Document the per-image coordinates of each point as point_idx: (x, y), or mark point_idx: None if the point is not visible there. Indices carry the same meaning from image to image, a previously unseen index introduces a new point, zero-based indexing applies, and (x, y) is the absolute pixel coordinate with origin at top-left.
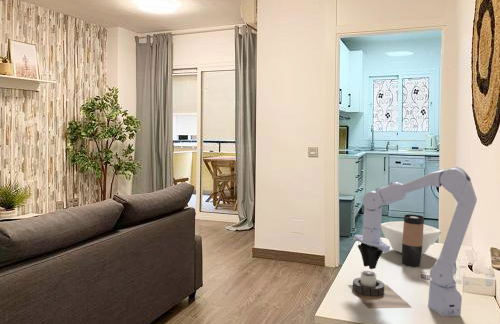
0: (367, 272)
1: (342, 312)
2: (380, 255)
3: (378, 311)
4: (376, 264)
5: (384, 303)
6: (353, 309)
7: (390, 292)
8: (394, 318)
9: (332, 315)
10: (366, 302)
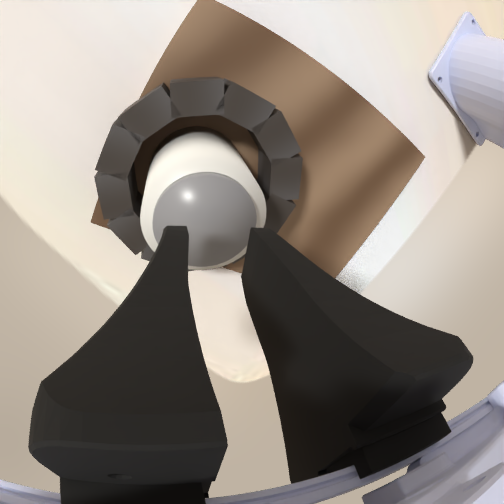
0: (193, 227)
1: None
2: (382, 309)
3: None
4: (291, 247)
5: (342, 220)
6: None
7: (295, 81)
8: (392, 251)
9: (262, 370)
10: None
